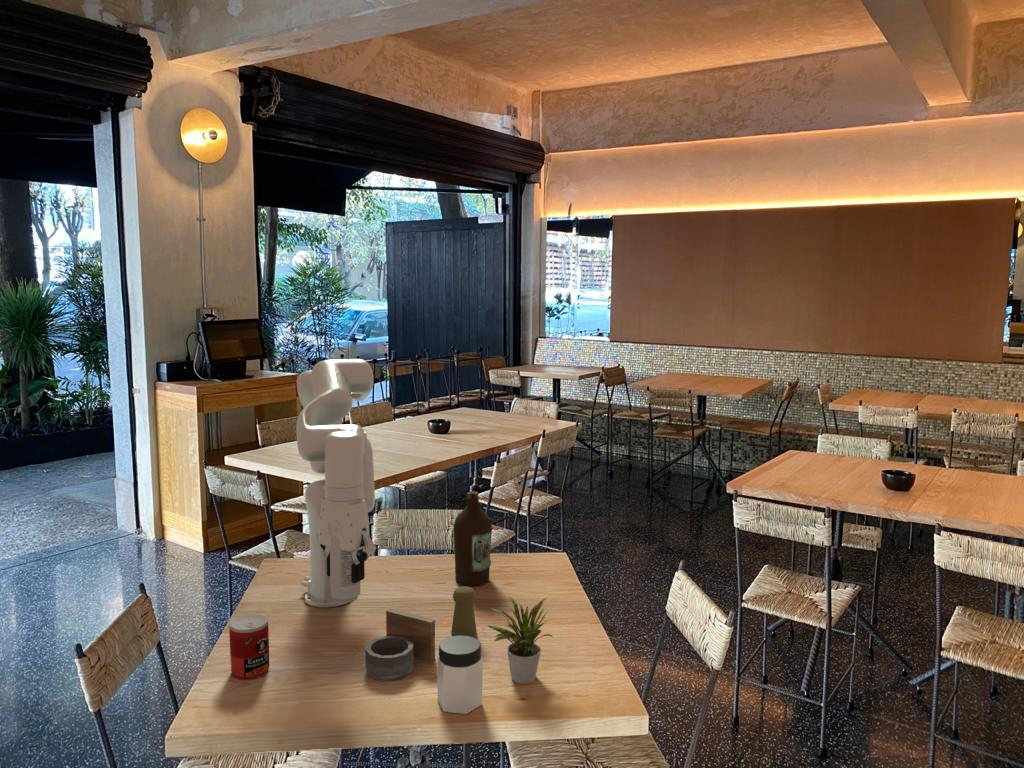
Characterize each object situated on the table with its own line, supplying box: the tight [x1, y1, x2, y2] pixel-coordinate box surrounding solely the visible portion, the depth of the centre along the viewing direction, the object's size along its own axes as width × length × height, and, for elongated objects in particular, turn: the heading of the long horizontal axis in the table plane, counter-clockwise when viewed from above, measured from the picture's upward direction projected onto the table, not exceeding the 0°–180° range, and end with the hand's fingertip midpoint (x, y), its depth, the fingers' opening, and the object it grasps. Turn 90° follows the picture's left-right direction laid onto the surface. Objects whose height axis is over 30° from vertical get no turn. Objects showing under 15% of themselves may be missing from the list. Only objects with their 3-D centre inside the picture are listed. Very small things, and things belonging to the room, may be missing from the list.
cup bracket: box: [364, 608, 436, 682], centre depth 160 cm, size 13×12×9 cm
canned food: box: [228, 613, 270, 681], centre depth 157 cm, size 8×8×11 cm
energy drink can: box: [330, 537, 361, 604], centre depth 153 cm, size 6×6×15 cm
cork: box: [450, 585, 477, 638], centre depth 175 cm, size 6×6×11 cm
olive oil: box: [452, 490, 493, 587], centre depth 207 cm, size 11×11×25 cm
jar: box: [437, 635, 484, 715], centre depth 145 cm, size 9×8×12 cm
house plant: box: [487, 596, 553, 685], centre depth 156 cm, size 14×14×16 cm
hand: (345, 576), depth 154 cm, fingers closed on energy drink can, 6 cm apart
